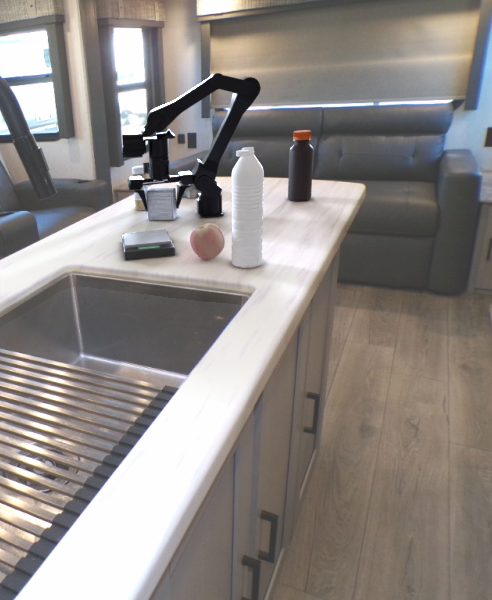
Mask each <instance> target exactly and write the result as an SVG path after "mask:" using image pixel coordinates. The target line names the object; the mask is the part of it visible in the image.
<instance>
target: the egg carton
mask: <svg viewBox="0 0 492 600" xmlns="http://www.w3.org/2000/svg"><path fill="white" fill-rule="evenodd" d="M189 185H190V187H188V188H186V190H185V192H184V194H183V196H182V198H185V197H186V198H188V199H193V198H198V197H199V195H198V194H199V193H202V192H201V191H199V190H198V189H196V187H195V186H194V184H189Z"/></svg>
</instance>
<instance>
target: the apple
mask: <svg viewBox="0 0 492 600" xmlns="http://www.w3.org/2000/svg"><path fill="white" fill-rule="evenodd" d="M189 243H190V247H191V249H192V251H193V253H194V254H195V255H196V256H197V257H198V258H200V259H202V260H212V259H215V258H217V256H219V255H220V254H221V253H222V252H223V250H224V248H225V244H226V242H225V235H224V233H223V231H222V229H221V228H220V227H219V226H218V225H217V224H215V223H212V222H211V223H210V222H206V223H203V224H201V225H199V226H197V227H195V228H194V229H193V230H192V231H191V233H190V236H189Z"/></svg>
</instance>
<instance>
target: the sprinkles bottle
mask: <svg viewBox="0 0 492 600" xmlns="http://www.w3.org/2000/svg"><path fill="white" fill-rule="evenodd" d="M131 174H132V177H136V176H141V178H142V179H147V178H148V177H147V175H148V174H144V172H143V164H142V165H134V166H132V167H131ZM148 187H149V185H143V188H144V191H145V196H146V192H147V191H148V190H149V188H148ZM133 197H134V209H135V210H137V211H146V209H145V207H144V204H143V202H142V199H141V198H140V196H139V194H138V193H134V192H133ZM146 202H147V196H146Z"/></svg>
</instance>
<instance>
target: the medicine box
mask: <svg viewBox="0 0 492 600" xmlns="http://www.w3.org/2000/svg"><path fill="white" fill-rule="evenodd" d="M146 196H147V207H148V212H147V220H148V221H174V220H175V219H176V218H177V216H178V209H177V206H176V198H177V187H154V188H152V187H151V188H148V191H147V192H146Z"/></svg>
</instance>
